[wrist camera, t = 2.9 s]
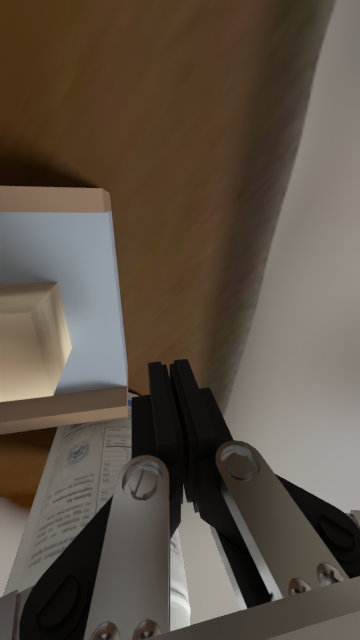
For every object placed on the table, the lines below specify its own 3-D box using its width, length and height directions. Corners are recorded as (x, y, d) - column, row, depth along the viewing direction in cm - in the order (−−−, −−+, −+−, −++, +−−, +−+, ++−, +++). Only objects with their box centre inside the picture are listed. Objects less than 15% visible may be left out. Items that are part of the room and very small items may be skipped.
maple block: (-31, 285, 13) (-100, 320, 9) (57, 282, 14) (29, 313, 10) (-4, 354, 15) (-52, 408, 11) (72, 348, 16) (53, 395, 12)
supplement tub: (131, 464, 26) (134, 715, 13) (42, 445, 23) (-72, 763, 10) (178, 403, 24) (238, 640, 11) (87, 370, 20) (12, 665, 7)
